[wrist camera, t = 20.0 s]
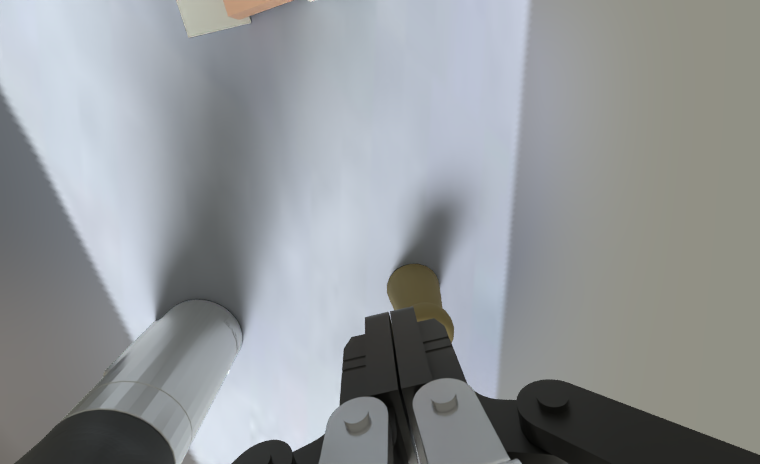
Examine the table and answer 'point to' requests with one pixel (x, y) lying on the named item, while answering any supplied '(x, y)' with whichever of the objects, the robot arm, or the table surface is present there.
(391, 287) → the cork
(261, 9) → the domino
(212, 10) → the block
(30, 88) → the table surface
